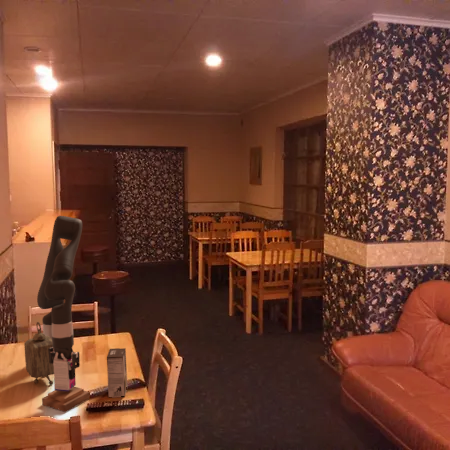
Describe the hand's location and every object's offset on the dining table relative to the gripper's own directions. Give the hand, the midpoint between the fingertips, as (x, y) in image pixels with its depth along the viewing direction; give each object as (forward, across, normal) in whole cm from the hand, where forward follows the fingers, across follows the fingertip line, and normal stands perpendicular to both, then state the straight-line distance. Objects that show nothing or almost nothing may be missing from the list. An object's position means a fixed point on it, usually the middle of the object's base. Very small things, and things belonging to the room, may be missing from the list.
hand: (65, 376), depth 187 cm
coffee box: (+10, +12, +15) cm, 22 cm away
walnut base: (+10, 0, 0) cm, 10 cm away
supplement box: (+5, 0, 0) cm, 5 cm away
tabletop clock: (+10, -23, +8) cm, 26 cm away
